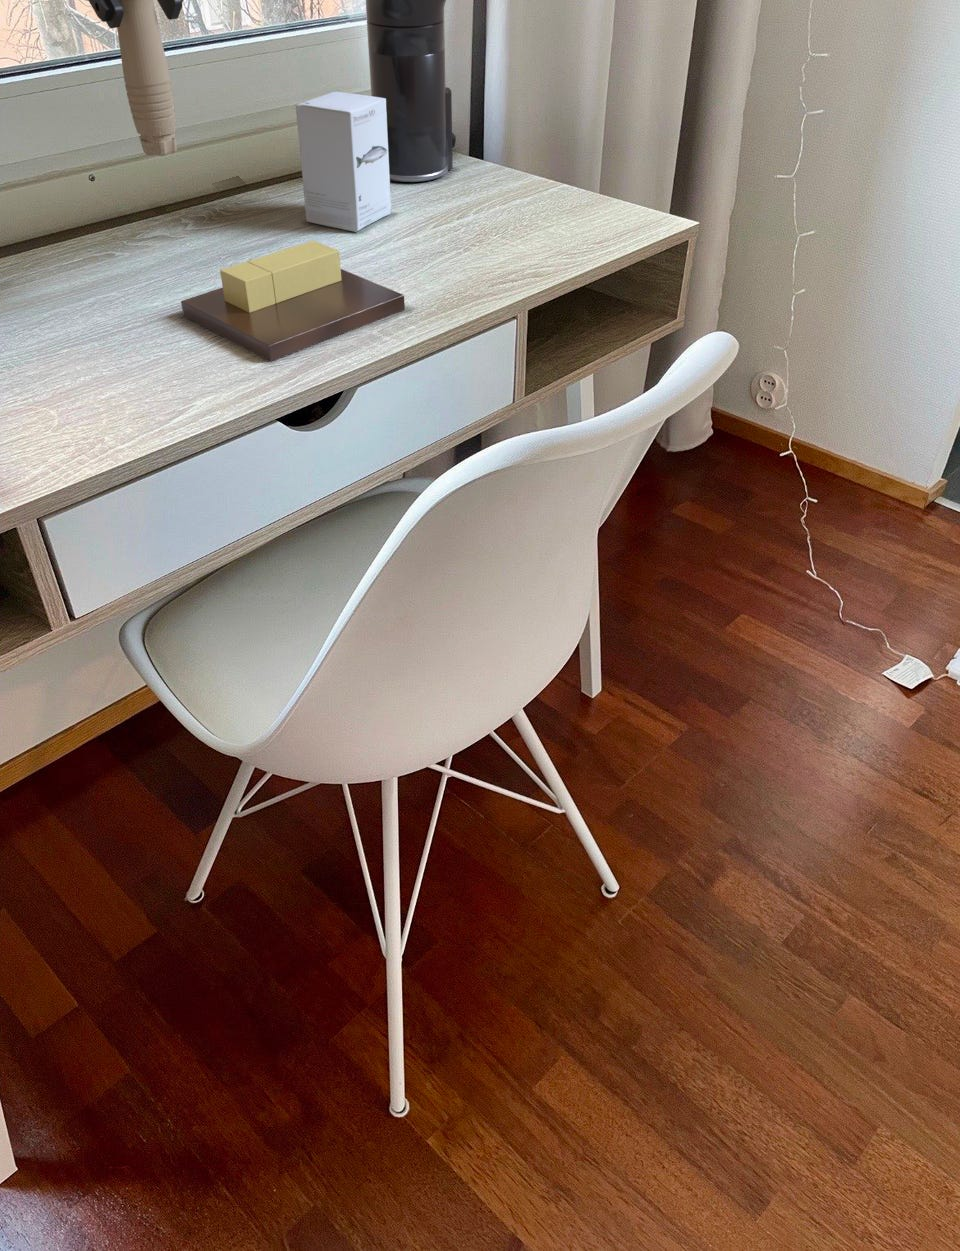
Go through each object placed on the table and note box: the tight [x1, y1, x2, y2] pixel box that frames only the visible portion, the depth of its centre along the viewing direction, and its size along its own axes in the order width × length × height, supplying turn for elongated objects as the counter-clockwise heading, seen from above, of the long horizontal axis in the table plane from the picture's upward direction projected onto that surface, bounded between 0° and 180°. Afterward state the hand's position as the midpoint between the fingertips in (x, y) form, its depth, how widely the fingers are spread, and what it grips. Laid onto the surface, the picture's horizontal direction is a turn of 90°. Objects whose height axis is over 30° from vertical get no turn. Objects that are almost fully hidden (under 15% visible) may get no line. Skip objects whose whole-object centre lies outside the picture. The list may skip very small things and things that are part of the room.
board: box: [180, 268, 406, 362], centre depth 100 cm, size 16×14×2 cm
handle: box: [116, 0, 178, 157], centre depth 91 cm, size 5×6×15 cm
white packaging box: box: [295, 91, 392, 233], centre depth 117 cm, size 7×7×13 cm
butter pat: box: [219, 261, 275, 313], centre depth 98 cm, size 3×4×3 cm
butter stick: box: [246, 239, 342, 303], centre depth 101 cm, size 8×4×3 cm, turn 135°
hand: (147, 16), depth 87 cm, fingers closed on handle, 5 cm apart
